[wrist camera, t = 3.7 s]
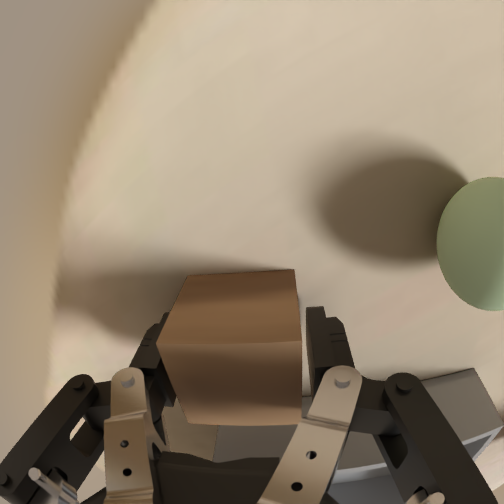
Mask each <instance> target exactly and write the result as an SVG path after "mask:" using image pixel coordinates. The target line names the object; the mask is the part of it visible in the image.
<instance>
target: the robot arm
mask: <svg viewBox="0 0 504 504" xmlns="http://www.w3.org/2000/svg"><path fill="white" fill-rule="evenodd" d="M169 314H170V312H168V313H165V314H164V315H163V317H162V319H161V321H160V323H155V324H154V325H153V326H152V327H150V328H149V329H148V330H147V332H146V334H145V336H144V338H143V340H142V342H141V344H140V346H139V348H138V350H137V352H136V354H135V356H134V358H133V360H132V362H131V364H130V366H129V368H124V369H122V370H120V371H118V372H117V373H116V374H115V375H114V376H113V378H112V380H111V381H106V382H99V383H95V382H94V380H93V379H92V377H91V376H89V375H86V374H80V375H77V376H74V377H73V378H71V379H70V380H69V381H68V382H67V383H66V384H65V385H64V387H63V388H62V389H61V390H60V391H59V392H58V394H57V395H56V396H55V397H54V398H53V399H52V401H51V402H50V403H49V404H48V405H47V407H46V408H45V409H44V410H43V411H42V413H41V414H40V415H39V416H38V418H37V419H36V420H35V421H34V422H33V424H32V425H31V426H30V427H29V429H28V430H27V431H26V432H25V433H24V435H23V436H22V437H21V438H20V440H19V441H18V442H17V443H16V445H15V446H14V447H13V448H12V450H11V451H10V452H9V453H8V455H7V456H6V457H5V459H4V460H3V461H2V463H1V464H0V496H1V497H3V498H4V499H5V500H7V501H8V502H9V503H10V504H79V501H78V500H77V490H78V489H79V487H80V486H81V484H82V483H83V481H84V480H85V478H86V477H87V475H88V474H89V472H90V471H91V469H92V468H93V466H94V465H95V463H96V462H97V460H98V459H99V457H100V455H101V454H102V452H103V451H104V457H105V476H106V487H105V488H103V489H102V490H100V491H99V492H97V493H95V494H94V495H92V496H91V497H89V498H88V499H86V500H85V501H83V502H82V503H80V504H339V503H338V502H337V501H336V500H335V499H334V498H332V497H331V496H330V495H329V494H328V492H329V490H330V487H331V485H332V482H333V479H334V477H335V474H336V471H337V468H338V465H339V462H340V460H341V457H342V454H343V451H344V448H345V445H346V442H347V439H348V436H349V433H350V431H353V432H360V433H367V434H372V435H373V437H374V440H375V442H376V444H377V446H378V448H379V450H380V452H381V454H382V456H383V458H384V460H385V463H386V465H387V467H388V469H389V471H390V473H391V475H392V477H393V480H394V482H395V484H396V486H397V488H398V490H399V492H400V495H401V497H402V499H403V501H404V503H405V504H498V502H497V500H496V498H495V496H494V495H493V493H492V491H491V489H490V488H489V486H488V484H487V483H486V481H485V479H484V478H483V476H482V474H481V473H480V471H479V469H478V468H477V466H476V464H475V463H474V461H473V460H472V458H471V456H470V455H469V453H468V452H467V450H466V448H465V447H464V445H463V444H462V442H461V441H460V439H459V437H458V436H457V434H456V433H455V431H454V430H453V428H452V427H451V425H450V424H449V422H448V421H447V419H446V418H445V416H444V415H443V413H442V412H441V410H440V409H439V407H438V406H437V404H436V403H435V402H434V400H433V399H432V397H431V396H430V394H429V393H428V391H427V390H426V389H425V387H424V386H423V384H422V383H421V381H420V380H419V379H418V378H417V377H416V376H414V375H412V374H409V373H396V374H394V375H392V376H390V377H389V378H388V379H387V380H386V381H377V380H371V379H367V378H365V377H363V376H362V375H361V374H360V373H359V371H358V370H356V369H355V366H354V362H353V358H352V355H351V351H350V347H349V343H348V341H347V336H346V332H345V329H344V325H343V323H342V322H341V321H340V320H339V319H338V318H337V317H329V318H326V315H325V311H324V307H323V306H319V307H306V346H307V356H308V365H309V375H310V385H311V396H312V405H311V407H310V409H309V412H308V414H307V416H306V417H303V418H302V419H301V420H300V422H299V424H298V426H297V428H296V431H295V433H294V435H293V437H292V439H291V441H290V443H289V445H288V447H287V449H286V451H285V453H284V455H283V457H282V459H281V461H280V457H249V458H244V459H238V460H233V461H227V462H220V463H216V462H212V461H209V460H206V459H203V458H200V457H196V456H193V455H190V454H184V453H175V452H171V451H170V446H169V441H168V436H167V431H166V425H165V420H164V415H163V414H162V411H163V408H164V406H168V407H173V406H174V402H175V399H176V393H175V391H174V389H173V386H172V384H171V381H170V379H169V376H168V374H167V371H166V369H165V366H164V364H163V361H162V358H161V356H160V353H159V351H158V348H157V345H156V342H157V340H158V338H159V335H160V333H161V331H162V329H163V327H164V325H165V322H166V320H167V318H168V316H169ZM82 417H83V418H84V419H85V422H84V423H83V425H82V426H81V427H80V429H79V430H78V432H77V433H76V434H75V436H74V437H73V438H72V440H71V441H70V433H71V431H72V430H73V429H74V427H75V426H76V425H77V423H78V422H79V421H80V419H81V418H82Z"/></svg>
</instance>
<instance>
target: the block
mask: <svg viewBox="0 0 504 504" xmlns="http://www.w3.org/2000/svg"><path fill="white" fill-rule="evenodd" d="M156 345H157V348H158V351H159V353H160V356H161V358H162V361H163V364H164V366H165V369H166V371H167V374H168V376H169V379H170V381H171V384H172V386H173V389H174V391H175V393H176V396H177V398H178V400H179V403H180V405H181V407H182V410H183V412H184V414H185V416H186V418H187V421H188V423H192V424H208V425H235V426H266V425H293V424H299V422H300V420H301V415H302V335H301V325H300V316H299V306H298V297H297V288H296V280H295V271H294V269H293V270H278V271H261V272H244V273H227V274H208V275H189V276H187V278H186V280H185V283H184V285H183V287H182V289H181V291H180V293H179V295H178V297H177V299H176V301H175V303H174V305H173V308H172V310H171V312H170V314H169V316H168V318H167V320H166V322H165V325H164V327H163V329H162V331H161V333H160V335H159V338H158V340H157V342H156Z"/></svg>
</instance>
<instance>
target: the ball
mask: <svg viewBox="0 0 504 504" xmlns="http://www.w3.org/2000/svg"><path fill="white" fill-rule="evenodd" d="M437 256H438V261H439V264H440V268H441V271H442V273H443V275H444V278H445V280H446V281H447V283H448V284H449V286H450V287H451V289H452V290H453V291H454V292H455V293H456V294H457V295H458V296H459V298H461V299H462V300H463V301H465V302H466V303H468V304H469V305H472V306H474V307H476V308H478V309H483V310H487V311H501V310H504V178H499V177H487V178H481V179H477V180H475V181H472V182H470V183H469V184H467V185H465V186H464V187H462V188H461V189H460V190H459V191H458V192H457V193H456V194H455V195H454V196H453V197H452V198H451V200H450V201H449V202H448V204H447V206H446V207H445V209H444V211H443V213H442V216H441V219H440V222H439V226H438V231H437Z"/></svg>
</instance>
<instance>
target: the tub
mask: <svg viewBox="0 0 504 504" xmlns="http://www.w3.org/2000/svg"><path fill="white" fill-rule="evenodd" d="M421 383H422V384H423V386H424V387H425V389H426V390H427V391H428V393H429V394H430V396H431V397H432V399H433V400H434V402H435V403H436V404H437V406H438V407H439V409H440V410H441V412H442V413H443V415H444V416H445V418H446V419H447V421H448V422H449V424H450V425H451V427H452V428H453V430H454V431H455V433H456V434H457V436H458V437H459V439H460V441H461V442H462V444H463V445H464V447H465V448H466V450H467V452H468V453H469V455H470V456H471V458H472V460H473V461H475V460H476V459H477V458H478V456H479V455H480V454H481V453H482V452H483V451H484V450H485V448H486V447H487V446H488V445H489V444H490V442H491V441H492V440H493V439H494V437H495V436H496V435H497V434H498V432H499V431H500V430H501V429H502V427H503V426H504V424H503V422H502V419H501V417H500V415H499V413H498V411H497V409H496V407H495V405H494V404H493V402H492V400H491V398H490V396H489V394H488V392H487V390H486V388H485V387H484V385H483V383H482V381H481V379H480V378H479V376H478V374H477V372H476V371H475V369H474V368H473V369H469V370H465V371H462V372H458V373H454V374H450V375H446V376H442V377H437V378H433V379H428V380H424V381H421ZM311 405H312V396H309V397H302V415H301V419H302V418H303V417H306V416H307V414H308V412H309V409H310V407H311ZM297 426H298V424H293V425H266V426H235V425H219V426H218V432H217V438H216V444H215V450H214V456H213V462H216V463H220V462H227V461H233V460H238V459H244V458H249V457H280V461H281V459H282V457H283V455H284V453H285V451H286V449H287V447H288V445H289V443H290V441H291V439H292V437H293V435H294V433H295V431H296V428H297ZM328 494H329V495H330V496H331V497H332V498H334V499H335V500H336V501H337V502H338V503H339V504H405V503H404V501H403V499H402V497H401V495H400V492H399V490H398V488H397V486H396V484H395V482H394V480H393V477H392V475H391V473H390V471H389V469H388V467H387V465H386V463H385V460H384V458H383V456H382V454H381V452H380V450H379V448H378V446H377V444H376V442H375V440H374V437H373V435H372V434H367V433H360V432H353V431H350V433H349V436H348V439H347V442H346V445H345V448H344V451H343V454H342V457H341V460H340V462H339V465H338V468H337V471H336V474H335V477H334V479H333V482H332V485H331V487H330V490H329V492H328Z"/></svg>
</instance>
